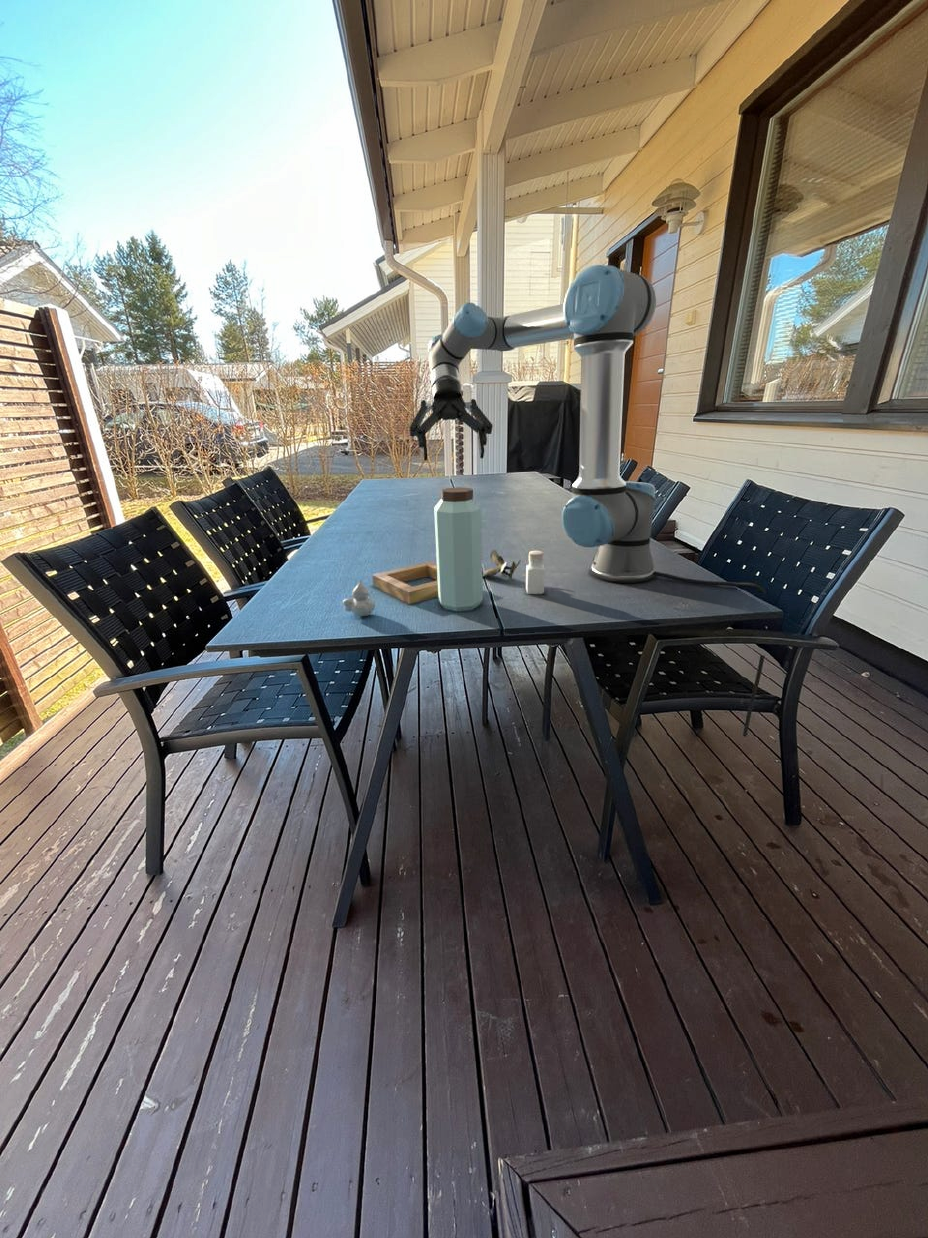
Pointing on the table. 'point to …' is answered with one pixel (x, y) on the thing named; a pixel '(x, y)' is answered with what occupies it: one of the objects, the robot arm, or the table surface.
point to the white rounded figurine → (360, 601)
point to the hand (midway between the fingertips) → (454, 455)
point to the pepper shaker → (535, 573)
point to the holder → (395, 578)
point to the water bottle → (459, 549)
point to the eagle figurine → (500, 566)
